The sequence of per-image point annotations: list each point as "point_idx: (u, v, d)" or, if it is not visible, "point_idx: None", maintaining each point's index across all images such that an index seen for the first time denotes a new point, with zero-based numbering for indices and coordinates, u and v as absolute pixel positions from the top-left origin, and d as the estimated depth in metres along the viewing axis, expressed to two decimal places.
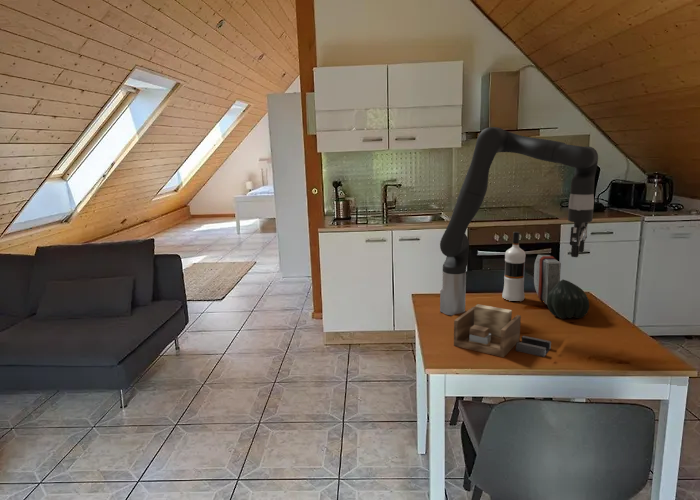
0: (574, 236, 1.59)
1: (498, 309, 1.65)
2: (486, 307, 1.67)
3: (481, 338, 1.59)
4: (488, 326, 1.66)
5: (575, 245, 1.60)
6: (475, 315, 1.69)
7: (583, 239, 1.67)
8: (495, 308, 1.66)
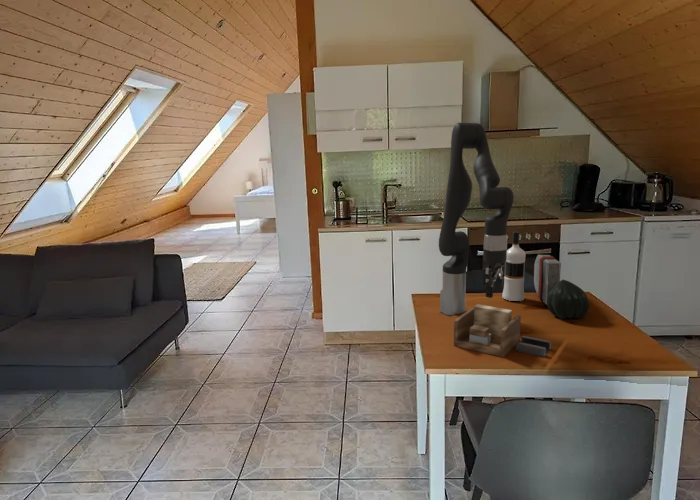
0: (486, 277, 1.58)
1: (498, 309, 1.65)
2: (486, 307, 1.67)
3: (481, 338, 1.59)
4: (488, 326, 1.66)
5: (488, 286, 1.59)
6: (475, 315, 1.69)
7: (500, 278, 1.66)
8: (495, 308, 1.66)
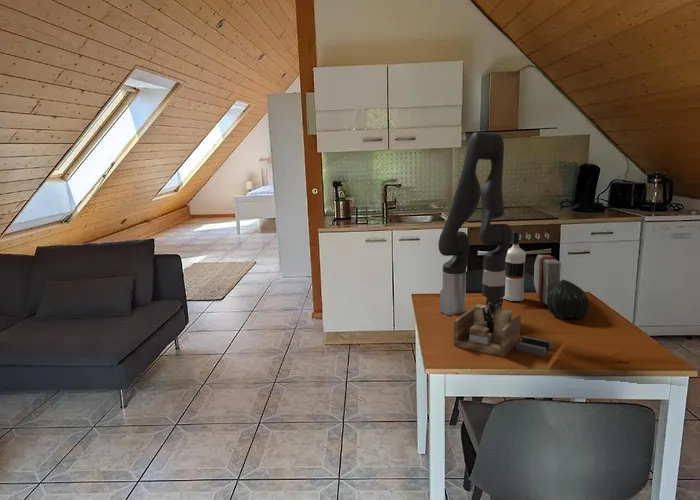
0: (486, 315, 1.62)
1: (498, 309, 1.65)
2: None
3: (481, 338, 1.59)
4: None
5: (489, 321, 1.64)
6: (475, 315, 1.69)
7: None
8: None
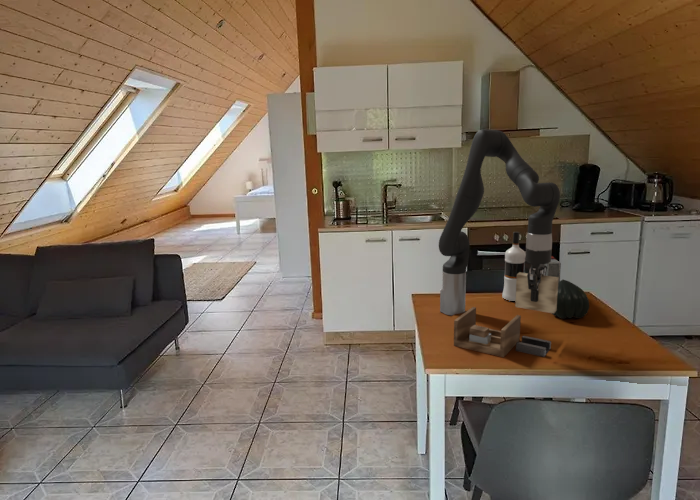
0: (532, 283, 1.49)
1: (543, 276, 1.52)
2: None
3: (481, 338, 1.59)
4: None
5: (534, 290, 1.51)
6: (517, 284, 1.56)
7: None
8: None
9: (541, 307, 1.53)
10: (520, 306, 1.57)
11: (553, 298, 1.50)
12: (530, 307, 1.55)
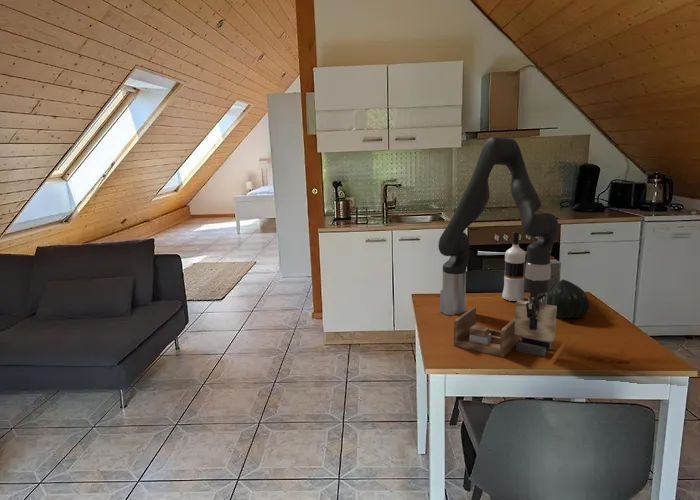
0: (530, 312, 1.51)
1: (542, 305, 1.54)
2: None
3: (481, 338, 1.59)
4: None
5: (533, 318, 1.53)
6: (516, 311, 1.58)
7: None
8: None
9: (539, 335, 1.55)
10: (519, 333, 1.59)
11: (552, 327, 1.52)
12: (529, 335, 1.57)
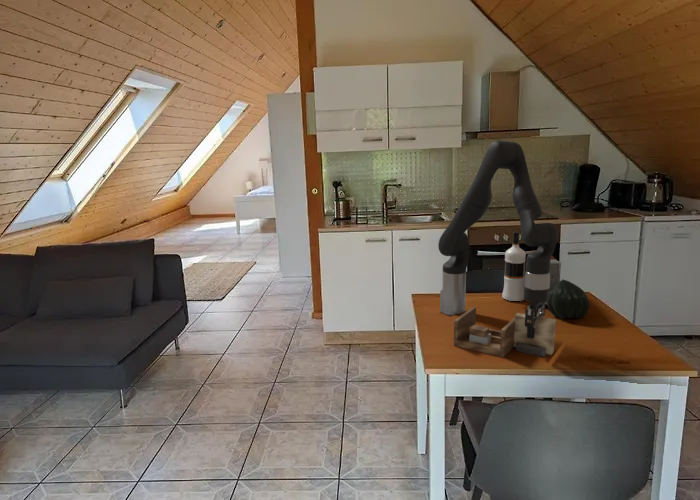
0: (529, 318, 1.50)
1: (541, 318, 1.55)
2: None
3: (481, 338, 1.59)
4: None
5: (530, 327, 1.52)
6: (516, 324, 1.59)
7: None
8: None
9: None
10: None
11: (551, 340, 1.53)
12: None
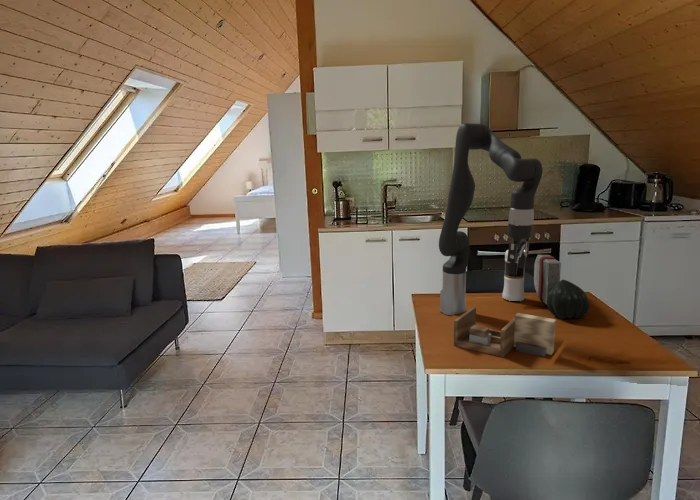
0: (511, 253, 1.51)
1: (541, 318, 1.55)
2: (528, 316, 1.57)
3: (481, 338, 1.59)
4: (530, 336, 1.57)
5: (513, 262, 1.52)
6: (516, 324, 1.59)
7: (524, 255, 1.60)
8: (538, 317, 1.56)
9: None
10: None
11: (551, 340, 1.53)
12: None
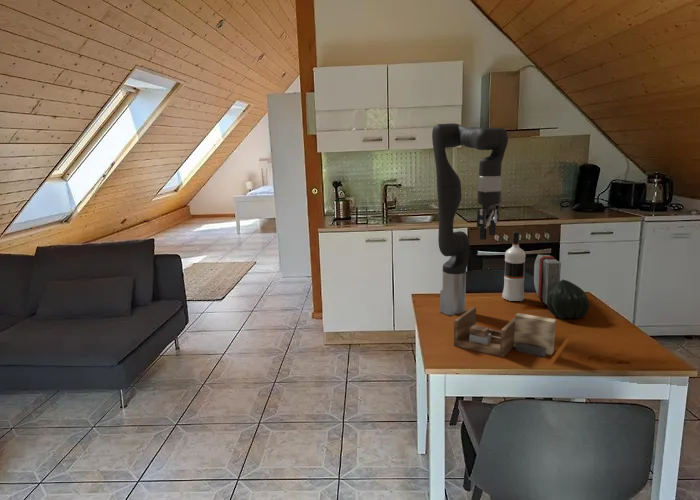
0: (480, 218, 1.58)
1: (541, 318, 1.55)
2: (528, 316, 1.57)
3: (481, 338, 1.59)
4: (530, 336, 1.57)
5: (482, 227, 1.59)
6: (516, 324, 1.59)
7: (494, 222, 1.66)
8: (538, 317, 1.56)
9: None
10: None
11: (551, 340, 1.53)
12: None
